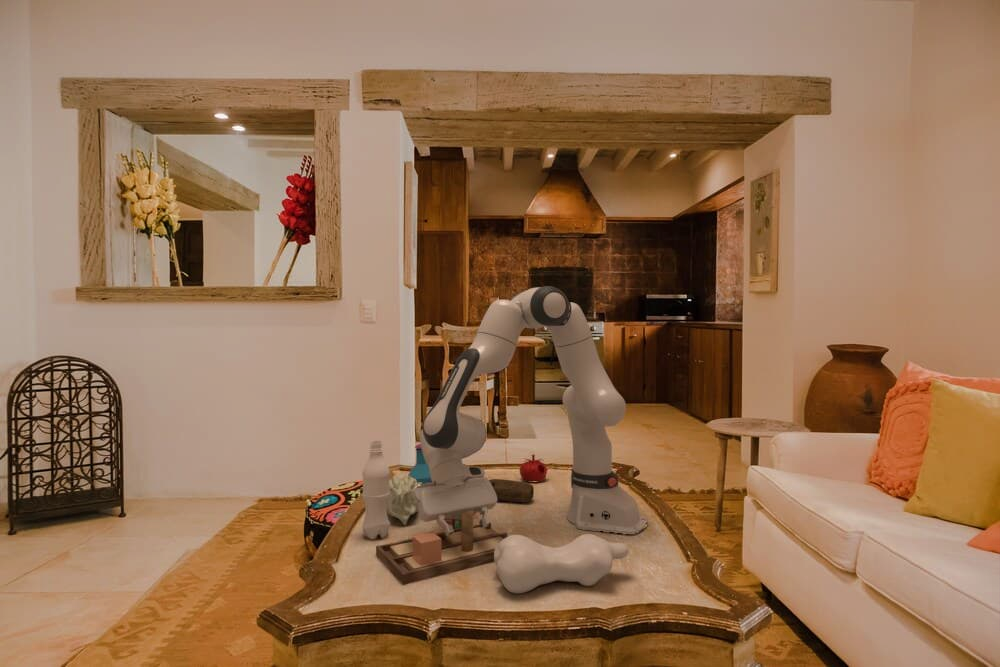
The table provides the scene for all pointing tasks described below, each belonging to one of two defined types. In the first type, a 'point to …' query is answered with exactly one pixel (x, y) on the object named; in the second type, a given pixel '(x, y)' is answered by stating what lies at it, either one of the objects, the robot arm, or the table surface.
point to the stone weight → (512, 490)
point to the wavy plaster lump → (402, 498)
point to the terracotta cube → (427, 548)
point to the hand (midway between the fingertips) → (467, 530)
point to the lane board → (415, 575)
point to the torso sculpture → (554, 561)
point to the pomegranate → (533, 470)
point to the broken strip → (453, 539)
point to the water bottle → (376, 493)
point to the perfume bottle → (420, 468)
